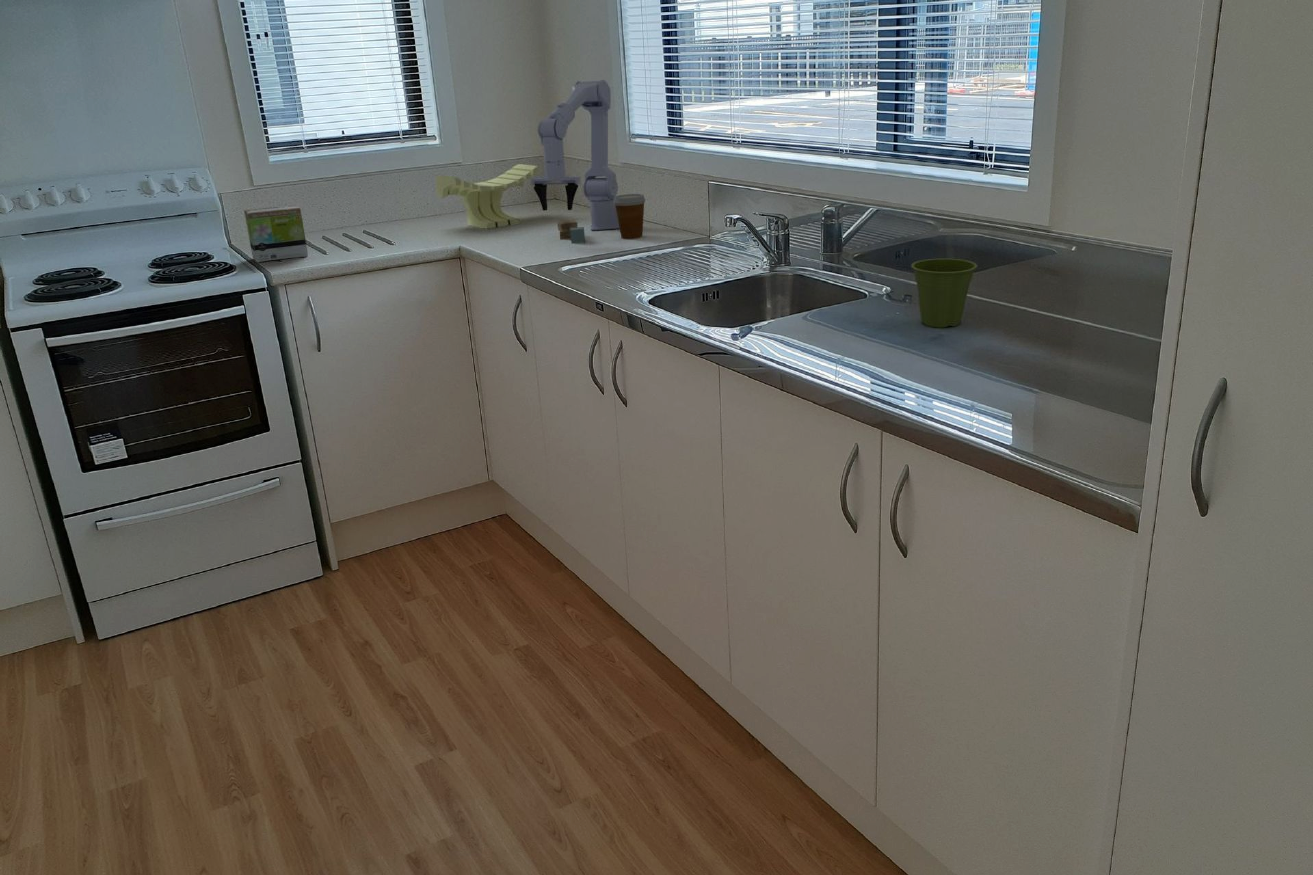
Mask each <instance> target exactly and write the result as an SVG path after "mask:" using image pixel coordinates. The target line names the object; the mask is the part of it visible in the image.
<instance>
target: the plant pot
mask: <svg viewBox="0 0 1313 875" xmlns="http://www.w3.org/2000/svg"><path fill="white" fill-rule="evenodd" d="M910 267H911V269H913V270H914V279H915V281H916V287H917V295H918V303H919V312H920V319H921V320H920V321H921V324H924V325H925V326H927V327H931V328H939V329H943V328H948V327H949V326H950V327H951V326H952V327H957V326H959V325H961V322H962V319H963V314H964V309H965V304H966V300H967V297H968V293H969V292H968V291H969V288H970V283H971V282H972V280H973V275H974V271H975V270H976V269H977V268H978V264H977V263H976V262H973V261H970V260H966V259H958V258H930V259H928V258H927V259H922V260H917V261H914V262H912V263H911V265H910Z"/></svg>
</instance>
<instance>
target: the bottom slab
mask: <svg viewBox="0 0 1313 875" xmlns="http://www.w3.org/2000/svg"><path fill="white" fill-rule="evenodd" d="M559 238H560V240H568V239H570V238H571V232H570V231H569V232H561V231H559ZM570 240H571V239H570Z"/></svg>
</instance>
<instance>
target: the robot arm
mask: <svg viewBox="0 0 1313 875" xmlns="http://www.w3.org/2000/svg"><path fill="white" fill-rule="evenodd" d="M580 107H581V108H583V109H584V110H585V111H588V113H589V114H590V116H591V117H590V118H591V119H590V127H591V128H590V138H591V139H590V142H591V143H590V144H591V145H590V151H591V152H590V155H591V157H590V160H591V161H590V162H591V164H590V168H589V169H588V170H587V171H586V172H585V173H584V178H583V183H582V192H583V195H584V197H586V199H587V201H589V208H590V218H591V219H590V220H591V224H590V230H591V231H602V230H603V231H604V230H616V229H617V230H618V229H620V228H619V223H618V218H617V212H616V207H615V205H614V203H613V201H614V198H615V196H617V194H618V192H619V190H618V189H619V186H618V182H617V174H616V173H615V172H614V171H613V170H612V169H611V168H609V167H608V166H609V110H610V109H611V87H610V86H609V83H608V82H607V81H606V80H605V79H601V80H586V81H585V80H584V81H580V80H577V81H576V82H575V84H573V85H572V93H571V94H570V96H569V97H568V99H567V100H566V102H563V103H561V102H560V103H558V104H557V105H556V108H555V109H553V111H552V112H551V113H550V114H549V115H548V116H547V118H542V119H541V120H540V121H539V123H538V127H537V128H538V129H537V133H538V134H537V135H538V136H539V138H540V144H541V146H542V147H543V148H542V149H543V164H544V175H545V176H544V177H531V179H530V186H533V190H534V191H535V193H536V195H537V197H538V200H539V202H540V205H541V209H542V211H544V212H545V211H548V200H547V193H548V192H547V190H548V185H549V186H550V185H564V187H565V188H564V189H565V194H566V203H567V206H566V207H567V211H571V210H573V204H574V200H575V195H576V193H577V190H578V189H579V185H580V184H581V182H582V181H581V176H566V170H565V153H564V139H565V137H566V135H567V131H568V127H569V125H570V124H572V122H573V121H574V120H575V118H576V111H577V110H578V109H579V108H580Z"/></svg>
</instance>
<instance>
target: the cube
mask: <svg viewBox="0 0 1313 875" xmlns="http://www.w3.org/2000/svg"><path fill="white" fill-rule="evenodd" d="M570 232H571V239H570V241H571V244H581V243H586V237H585V236H586V234H585V226H578V227H575V228H570Z"/></svg>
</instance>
